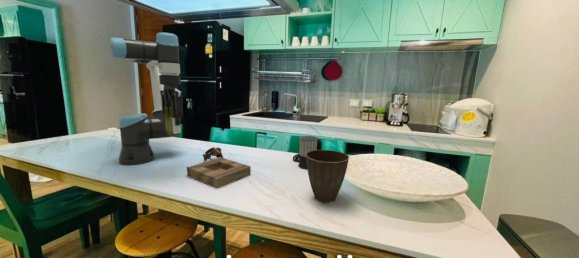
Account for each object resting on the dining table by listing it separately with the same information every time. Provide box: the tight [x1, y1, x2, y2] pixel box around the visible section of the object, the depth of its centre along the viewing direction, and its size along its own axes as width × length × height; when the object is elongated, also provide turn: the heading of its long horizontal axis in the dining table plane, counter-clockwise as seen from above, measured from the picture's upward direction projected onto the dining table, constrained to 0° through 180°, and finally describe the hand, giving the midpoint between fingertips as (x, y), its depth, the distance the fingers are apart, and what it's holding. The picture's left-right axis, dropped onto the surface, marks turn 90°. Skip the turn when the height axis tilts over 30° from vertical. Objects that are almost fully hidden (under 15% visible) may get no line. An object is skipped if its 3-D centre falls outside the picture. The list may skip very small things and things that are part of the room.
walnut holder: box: [186, 157, 252, 189], centre depth 101 cm, size 20×18×4 cm
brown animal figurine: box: [202, 146, 224, 162], centre depth 120 cm, size 12×10×8 cm
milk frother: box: [292, 135, 323, 170], centre depth 118 cm, size 14×16×15 cm
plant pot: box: [306, 149, 350, 204], centre depth 82 cm, size 15×15×16 cm
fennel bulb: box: [165, 107, 181, 137], centre depth 95 cm, size 6×5×12 cm
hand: (173, 132), depth 95 cm, fingers closed on fennel bulb, 5 cm apart
